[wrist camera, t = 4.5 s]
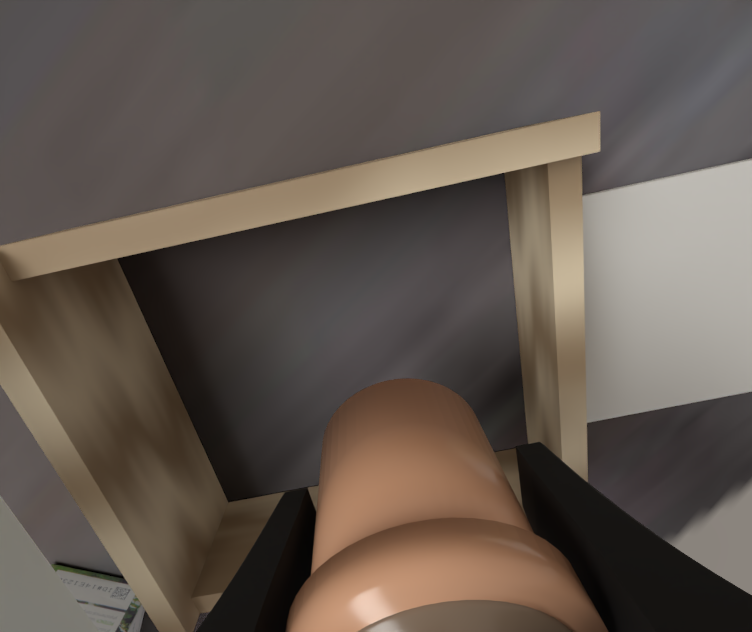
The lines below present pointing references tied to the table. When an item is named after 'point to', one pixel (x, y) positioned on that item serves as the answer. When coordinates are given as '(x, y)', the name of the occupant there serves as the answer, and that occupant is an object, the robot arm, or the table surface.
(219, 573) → the cold frame
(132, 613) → the syrup box
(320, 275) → the table surface
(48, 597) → the lid
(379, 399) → the terracotta flower pot
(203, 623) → the robot arm
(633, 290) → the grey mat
